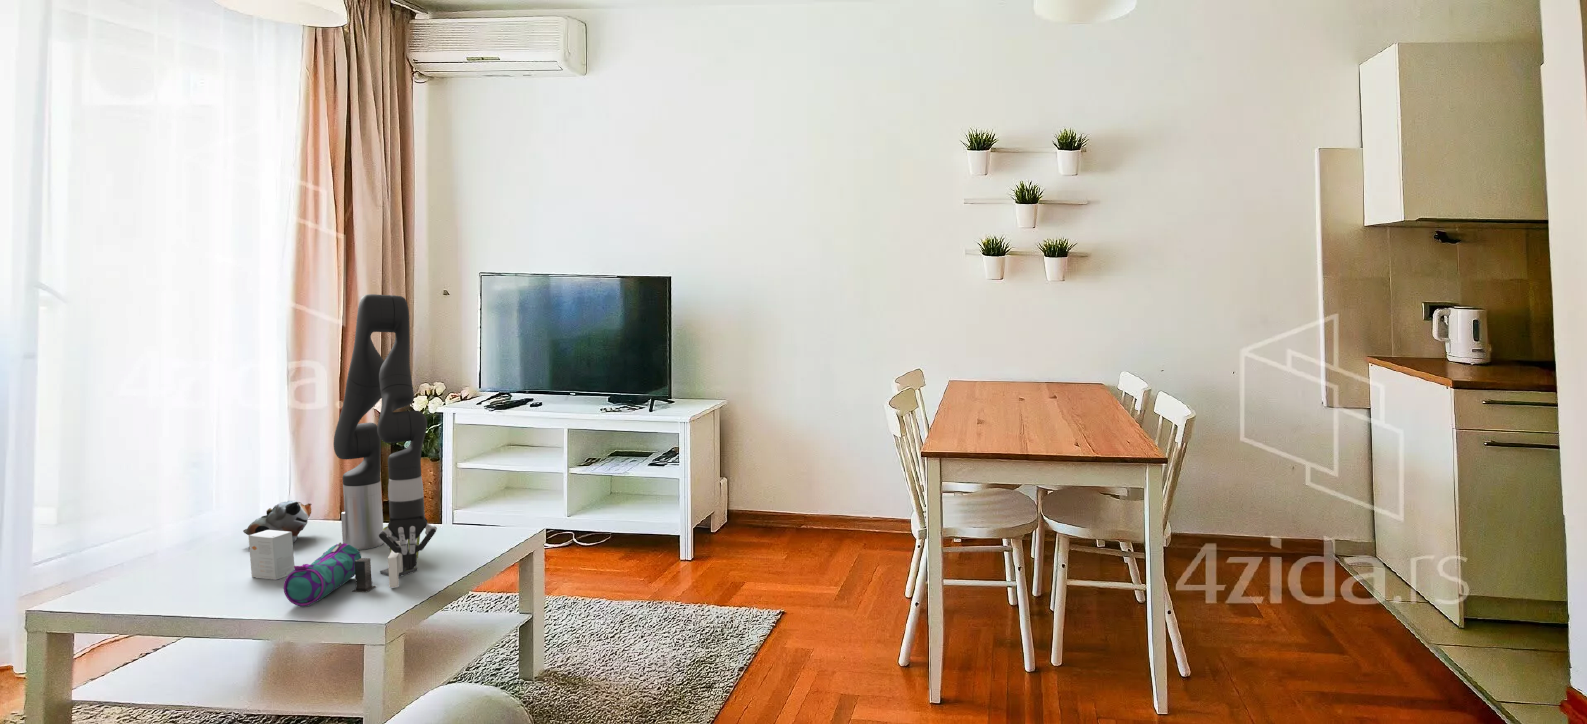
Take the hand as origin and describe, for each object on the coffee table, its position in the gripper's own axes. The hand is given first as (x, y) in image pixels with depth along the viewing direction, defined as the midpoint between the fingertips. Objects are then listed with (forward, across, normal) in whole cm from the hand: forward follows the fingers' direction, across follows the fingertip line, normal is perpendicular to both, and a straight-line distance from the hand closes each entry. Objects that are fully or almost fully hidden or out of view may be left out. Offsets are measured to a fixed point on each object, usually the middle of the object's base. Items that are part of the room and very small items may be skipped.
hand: (410, 568), depth 212 cm
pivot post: (+4, +4, -10) cm, 11 cm away
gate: (+3, +4, -2) cm, 5 cm away
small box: (+4, +34, -17) cm, 38 cm away
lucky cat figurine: (+4, +41, -50) cm, 65 cm away
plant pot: (+4, +4, -21) cm, 22 cm away
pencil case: (+4, +18, 0) cm, 19 cm away
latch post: (+4, +10, +1) cm, 11 cm away
